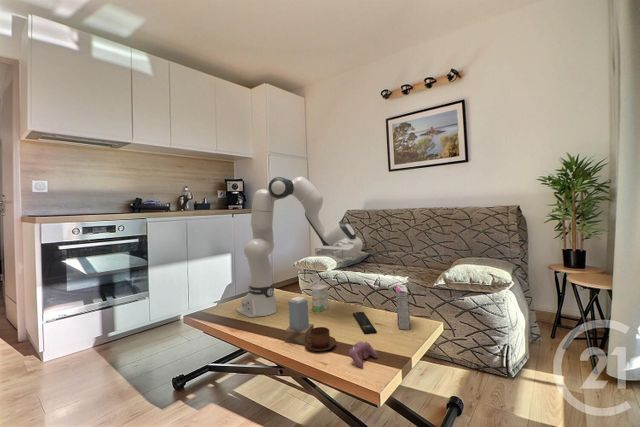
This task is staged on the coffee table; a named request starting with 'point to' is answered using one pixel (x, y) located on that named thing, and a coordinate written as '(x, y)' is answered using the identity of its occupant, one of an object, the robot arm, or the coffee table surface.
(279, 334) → the coffee table surface
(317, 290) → the ink box
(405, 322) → the candy bar box
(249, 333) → the coffee table surface
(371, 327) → the remote control
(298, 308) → the tall gray box
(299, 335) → the walnut block
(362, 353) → the video game controller
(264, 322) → the coffee table surface
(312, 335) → the cup and saucer
